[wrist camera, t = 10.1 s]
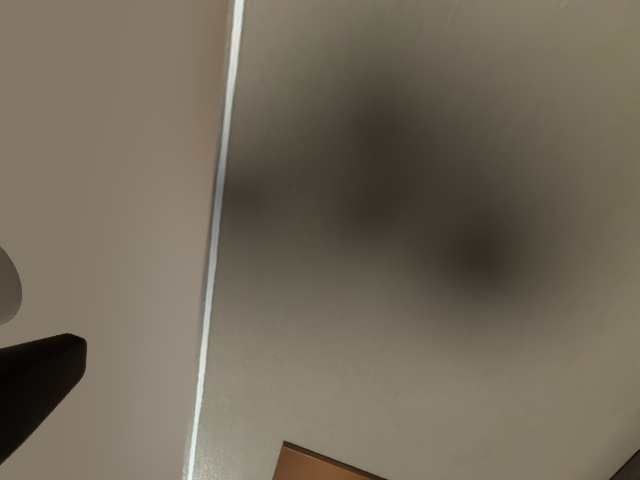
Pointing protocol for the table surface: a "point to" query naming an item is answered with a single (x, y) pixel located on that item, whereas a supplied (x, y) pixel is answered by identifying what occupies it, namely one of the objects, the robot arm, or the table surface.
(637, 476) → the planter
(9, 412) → the robot arm
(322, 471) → the coaster
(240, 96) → the table surface
